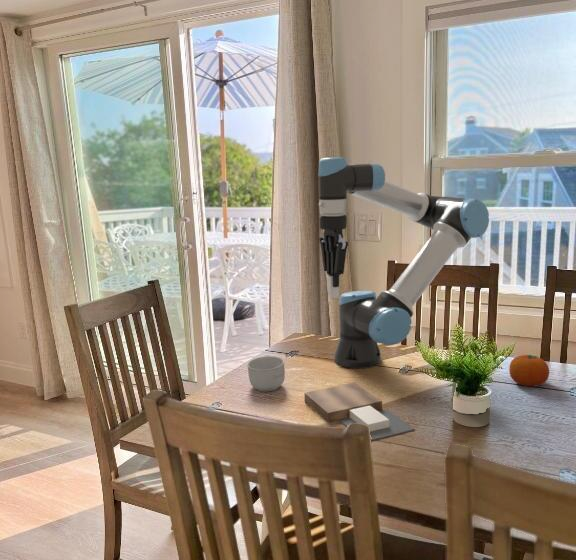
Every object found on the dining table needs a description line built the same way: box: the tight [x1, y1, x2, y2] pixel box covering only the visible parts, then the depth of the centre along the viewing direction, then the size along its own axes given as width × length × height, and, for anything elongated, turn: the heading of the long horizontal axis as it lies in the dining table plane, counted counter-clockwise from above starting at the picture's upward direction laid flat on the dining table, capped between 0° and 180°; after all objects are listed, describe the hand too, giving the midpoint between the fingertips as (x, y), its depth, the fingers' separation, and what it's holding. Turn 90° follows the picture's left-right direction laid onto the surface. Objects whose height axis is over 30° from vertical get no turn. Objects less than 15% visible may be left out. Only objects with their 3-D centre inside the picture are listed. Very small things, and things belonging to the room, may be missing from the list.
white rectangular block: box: [349, 406, 389, 432], centre depth 139 cm, size 6×9×2 cm, turn 23°
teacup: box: [246, 354, 286, 393], centre depth 164 cm, size 14×11×8 cm
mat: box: [339, 409, 416, 442], centre depth 138 cm, size 14×12×1 cm
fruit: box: [508, 354, 550, 387], centre depth 160 cm, size 11×10×8 cm
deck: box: [303, 382, 383, 423], centre depth 150 cm, size 16×14×2 cm
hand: (333, 297), depth 159 cm, fingers closed
